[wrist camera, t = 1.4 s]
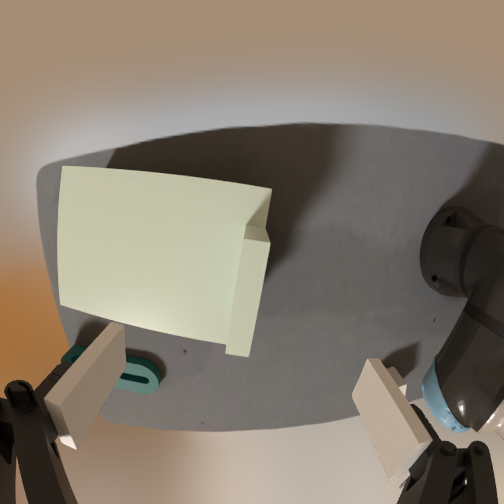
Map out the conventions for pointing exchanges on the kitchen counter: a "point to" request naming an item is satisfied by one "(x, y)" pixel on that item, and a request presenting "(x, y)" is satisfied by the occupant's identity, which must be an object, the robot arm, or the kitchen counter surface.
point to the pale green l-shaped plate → (164, 252)
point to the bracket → (128, 372)
